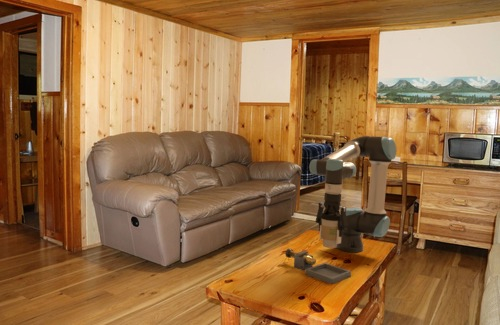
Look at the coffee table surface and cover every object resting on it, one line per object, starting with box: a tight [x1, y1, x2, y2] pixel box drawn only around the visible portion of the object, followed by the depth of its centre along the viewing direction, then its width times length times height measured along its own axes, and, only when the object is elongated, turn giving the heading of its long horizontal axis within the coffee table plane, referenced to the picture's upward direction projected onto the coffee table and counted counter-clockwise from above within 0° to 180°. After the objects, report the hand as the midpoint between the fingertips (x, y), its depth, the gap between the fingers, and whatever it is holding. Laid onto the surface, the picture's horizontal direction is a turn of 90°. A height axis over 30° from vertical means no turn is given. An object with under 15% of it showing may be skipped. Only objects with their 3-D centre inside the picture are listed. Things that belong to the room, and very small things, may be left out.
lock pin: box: [284, 248, 317, 266], centre depth 201 cm, size 4×16×4 cm, turn 44°
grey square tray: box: [304, 262, 352, 285], centre depth 191 cm, size 15×15×2 cm
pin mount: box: [293, 249, 314, 272], centre depth 200 cm, size 7×6×7 cm
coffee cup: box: [321, 212, 341, 249], centre depth 188 cm, size 10×10×15 cm
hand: (330, 240), depth 189 cm, fingers closed on coffee cup, 9 cm apart
